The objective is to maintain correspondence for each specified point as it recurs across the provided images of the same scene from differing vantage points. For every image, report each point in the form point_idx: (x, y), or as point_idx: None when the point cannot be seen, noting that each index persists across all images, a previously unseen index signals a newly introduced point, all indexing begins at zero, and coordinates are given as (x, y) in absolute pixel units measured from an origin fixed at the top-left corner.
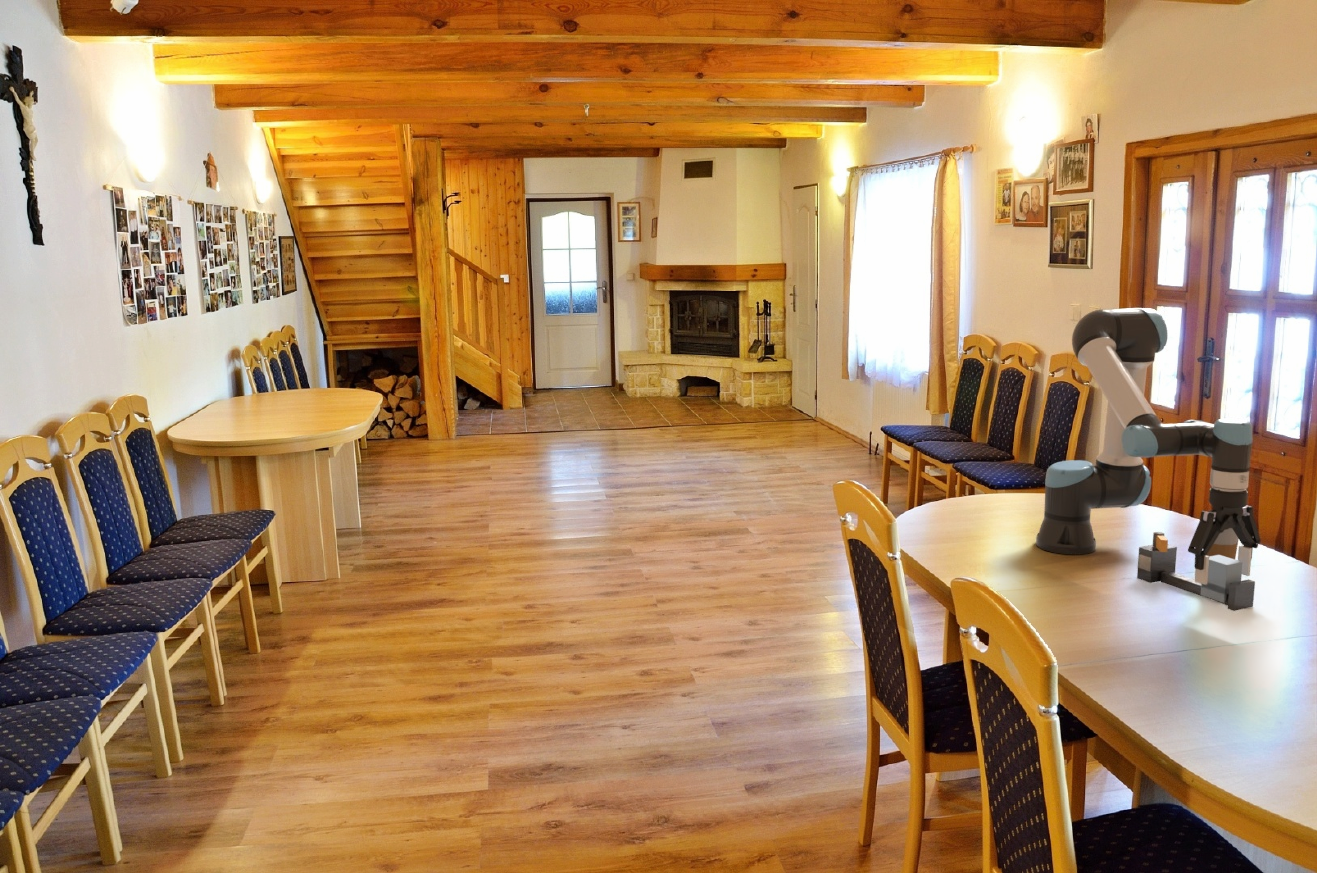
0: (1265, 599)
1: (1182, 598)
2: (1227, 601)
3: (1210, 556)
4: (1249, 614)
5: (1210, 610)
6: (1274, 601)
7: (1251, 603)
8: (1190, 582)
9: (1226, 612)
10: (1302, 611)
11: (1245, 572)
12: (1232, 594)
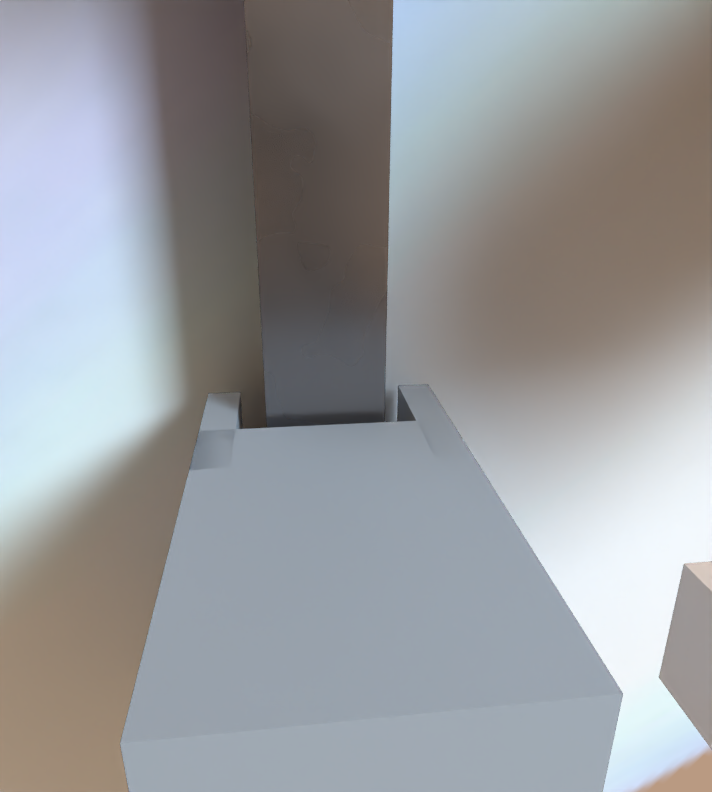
0: (654, 582)
1: (38, 312)
2: None
3: (350, 726)
4: None
5: (54, 613)
6: (662, 627)
7: None
8: (258, 220)
9: None
10: (615, 785)
11: (686, 681)
12: None
